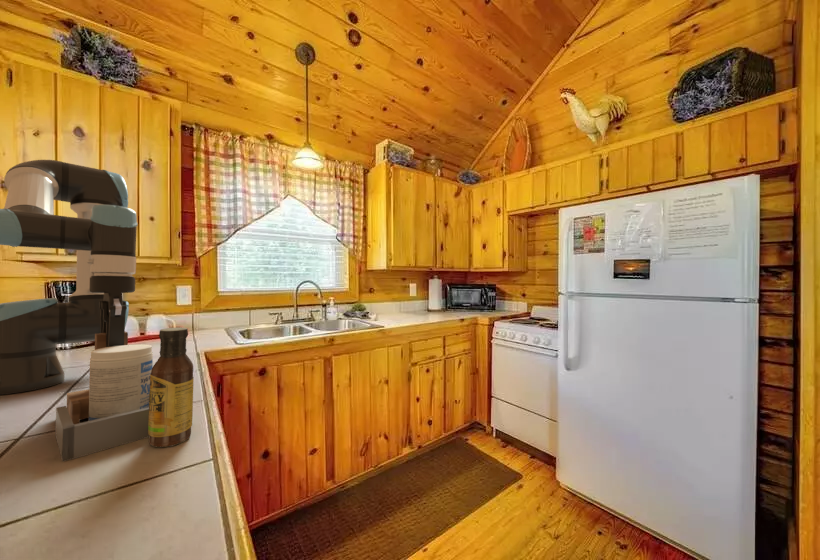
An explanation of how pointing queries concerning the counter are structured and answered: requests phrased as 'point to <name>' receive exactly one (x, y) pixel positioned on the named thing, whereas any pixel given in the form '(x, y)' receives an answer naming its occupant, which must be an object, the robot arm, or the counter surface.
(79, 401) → the wooden bracket
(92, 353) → the supplement tub
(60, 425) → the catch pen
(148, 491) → the counter surface
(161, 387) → the sauce bottle
